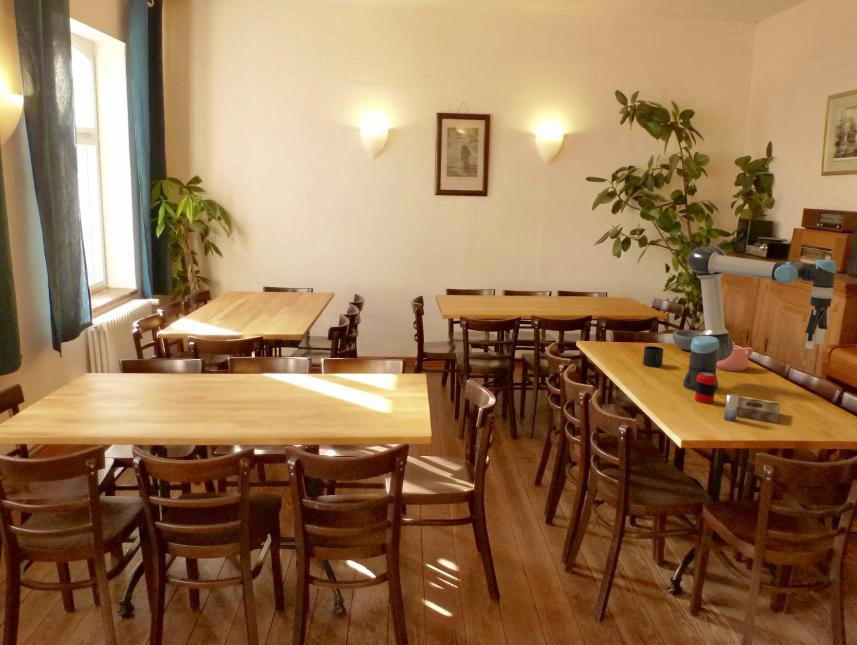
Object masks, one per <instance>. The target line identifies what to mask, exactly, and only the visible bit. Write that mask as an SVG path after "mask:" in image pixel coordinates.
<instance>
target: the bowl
mask: <svg viewBox="0 0 857 645" xmlns="http://www.w3.org/2000/svg"><path fill="white" fill-rule="evenodd" d="M704 331H705V330H693V329H680V330H675V331H673V332H672V340H673V341H674V343H675V344H676V346H677V347H679V348H681V349H683V350H685V351H691V343H692V340H693V338H695V337H697V336H702V333H703V332H704Z"/></svg>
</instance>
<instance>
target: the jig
mask: <svg viewBox="0 0 857 645" xmlns="http://www.w3.org/2000/svg"><path fill="white" fill-rule="evenodd" d="M738 396H739V400H738V408H737V417H739V418H744V419H745V418H746V419H750V420H751V419H752V420H755V421H761V422H768V423H774V424H777V422H778V419H779V416H780V410H781V409H780V408H781V404H780V403H779V402H778V401H773V400H767V399H760V398H753V397H747V396H743V395H742V396H741V395H738Z"/></svg>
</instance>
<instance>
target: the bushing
mask: <svg viewBox="0 0 857 645" xmlns="http://www.w3.org/2000/svg"><path fill="white" fill-rule="evenodd" d="M739 396H740V395H739V394H735V393H726V396H725V406H724V415H723V416H724V417H723V420H724V421H725V422H726V421H727V422H736V421H737V417H738V416H737V408H738V400H739Z"/></svg>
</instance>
